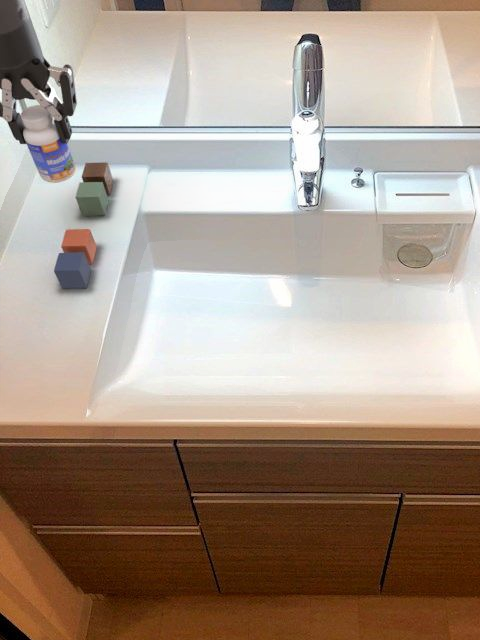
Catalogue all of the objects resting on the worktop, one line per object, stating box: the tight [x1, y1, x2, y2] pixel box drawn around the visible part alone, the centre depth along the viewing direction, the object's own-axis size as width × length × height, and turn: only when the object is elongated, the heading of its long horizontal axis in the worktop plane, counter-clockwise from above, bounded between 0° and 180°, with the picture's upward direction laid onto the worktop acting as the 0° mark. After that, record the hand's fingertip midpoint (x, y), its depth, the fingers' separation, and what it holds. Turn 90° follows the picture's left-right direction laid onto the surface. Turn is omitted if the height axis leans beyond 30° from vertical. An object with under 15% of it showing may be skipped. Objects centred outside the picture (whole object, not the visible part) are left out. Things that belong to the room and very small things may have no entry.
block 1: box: [81, 161, 114, 196], centre depth 114 cm, size 4×4×4 cm
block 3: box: [60, 228, 98, 265], centre depth 104 cm, size 4×4×4 cm
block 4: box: [53, 252, 92, 290], centre depth 101 cm, size 4×4×4 cm
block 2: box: [75, 181, 109, 217], centre depth 110 cm, size 4×4×4 cm
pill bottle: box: [20, 104, 76, 184], centre depth 92 cm, size 5×5×10 cm
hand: (45, 140), depth 91 cm, fingers closed on pill bottle, 5 cm apart
